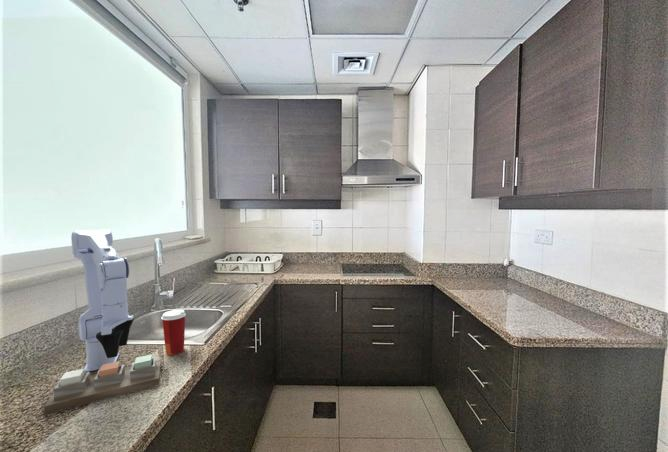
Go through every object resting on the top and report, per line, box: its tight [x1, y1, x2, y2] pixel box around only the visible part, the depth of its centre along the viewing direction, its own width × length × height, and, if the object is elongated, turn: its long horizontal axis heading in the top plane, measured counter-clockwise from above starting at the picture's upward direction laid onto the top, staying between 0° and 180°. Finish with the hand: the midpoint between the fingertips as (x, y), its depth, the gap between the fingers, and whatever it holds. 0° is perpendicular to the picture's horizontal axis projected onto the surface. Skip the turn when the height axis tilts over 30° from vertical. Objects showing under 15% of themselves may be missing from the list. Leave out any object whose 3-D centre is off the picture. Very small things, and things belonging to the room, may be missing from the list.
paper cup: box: [160, 309, 187, 356], centre depth 102 cm, size 8×8×14 cm
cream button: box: [59, 368, 85, 386], centre depth 78 cm, size 4×4×2 cm
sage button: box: [134, 354, 153, 370], centre depth 86 cm, size 4×4×2 cm
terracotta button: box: [98, 360, 121, 378], centre depth 82 cm, size 4×4×2 cm
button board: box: [43, 357, 162, 415], centre depth 82 cm, size 12×24×4 cm, turn 119°
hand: (117, 351), depth 81 cm, fingers open, 7 cm apart
